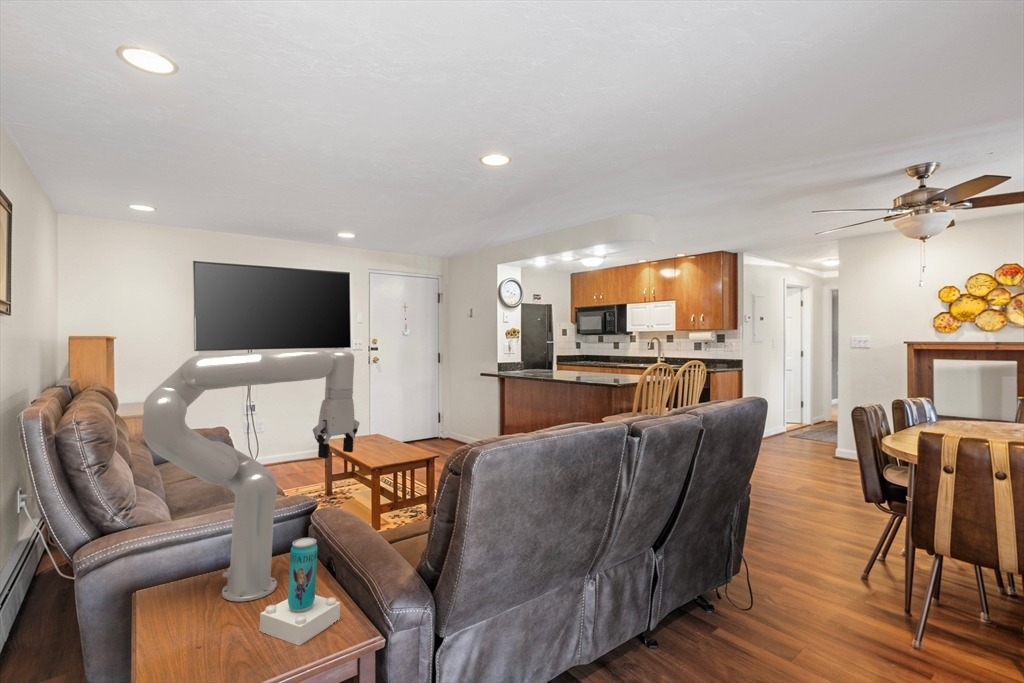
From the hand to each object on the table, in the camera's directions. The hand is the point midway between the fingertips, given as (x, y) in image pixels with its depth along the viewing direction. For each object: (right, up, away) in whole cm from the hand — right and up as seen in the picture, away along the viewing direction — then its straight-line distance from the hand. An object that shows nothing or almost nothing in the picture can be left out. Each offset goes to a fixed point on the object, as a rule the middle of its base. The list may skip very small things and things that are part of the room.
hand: (335, 454), depth 144 cm
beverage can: (+2, -29, -28) cm, 40 cm away
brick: (+2, -33, -28) cm, 43 cm away
